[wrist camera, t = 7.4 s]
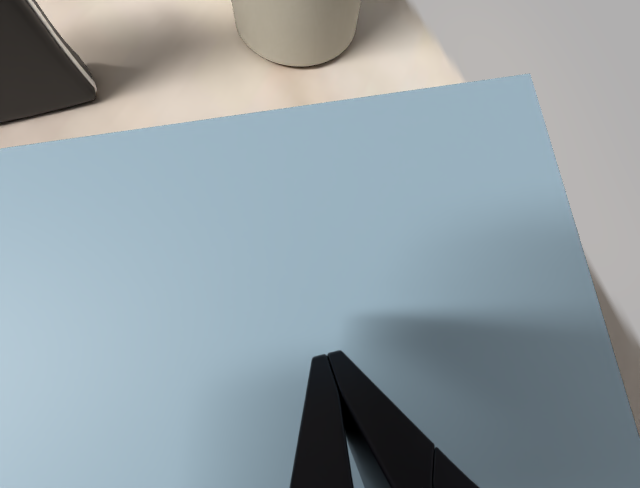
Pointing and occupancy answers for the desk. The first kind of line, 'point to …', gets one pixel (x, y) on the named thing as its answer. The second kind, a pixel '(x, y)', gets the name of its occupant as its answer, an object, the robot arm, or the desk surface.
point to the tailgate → (303, 295)
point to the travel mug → (297, 28)
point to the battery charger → (37, 64)
